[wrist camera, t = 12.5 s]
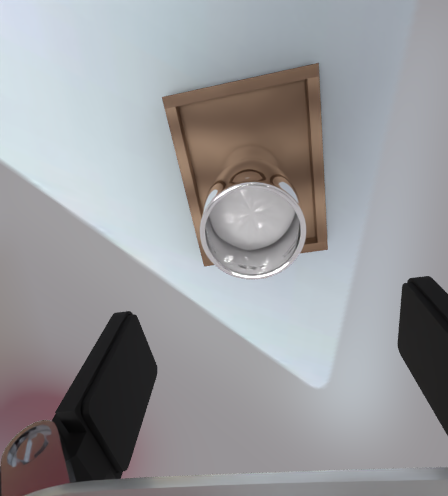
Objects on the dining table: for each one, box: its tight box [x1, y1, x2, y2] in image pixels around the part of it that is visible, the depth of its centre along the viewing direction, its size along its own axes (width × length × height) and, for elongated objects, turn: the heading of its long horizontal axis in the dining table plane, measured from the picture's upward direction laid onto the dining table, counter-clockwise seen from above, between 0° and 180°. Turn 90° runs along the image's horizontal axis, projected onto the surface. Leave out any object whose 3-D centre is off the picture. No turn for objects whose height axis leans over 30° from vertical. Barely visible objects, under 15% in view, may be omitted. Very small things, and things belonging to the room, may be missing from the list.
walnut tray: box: [162, 63, 328, 266], centre depth 32 cm, size 18×14×2 cm
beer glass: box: [200, 145, 306, 279], centre depth 26 cm, size 7×7×15 cm
